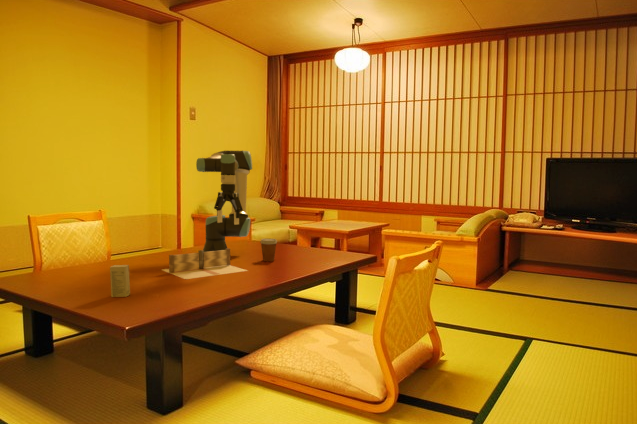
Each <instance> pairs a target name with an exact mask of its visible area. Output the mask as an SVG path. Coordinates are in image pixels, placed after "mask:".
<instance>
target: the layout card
mask: <svg viewBox="0 0 637 424" xmlns="http://www.w3.org/2000/svg"><path fill="white" fill-rule="evenodd" d="M161 271H162V272H166V273H168V274H171V275H174V276H176V277H179V278H181V279H184V280H189V279H190V280H191V279H197V278H198V279H199V278H205V277H213V276H218V275H219V276H220V275H227V274H234V273H241V272H249V270H247V269H245V268H244V269H243V268H240V267H238V266H234V265H231V264H230V265H224V266H216V267H208V268H203V269H192V270H184V271H176V272H174V273H170V272H169V268H164V269H163V268H162V269H161Z"/></svg>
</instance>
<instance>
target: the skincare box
mask: <svg viewBox="0 0 637 424" xmlns="http://www.w3.org/2000/svg"><path fill="white" fill-rule="evenodd" d="M109 275H110V277H109V278H110V291H111V292H110V293H111V294H110V296H111V298H115V297H116V298H123V297H125V298H126V297H128V296H130V295H131V283H130V281H131V280H130V265H129V264H122V265H121V264H114V265H111V266H110V267H109Z"/></svg>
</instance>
